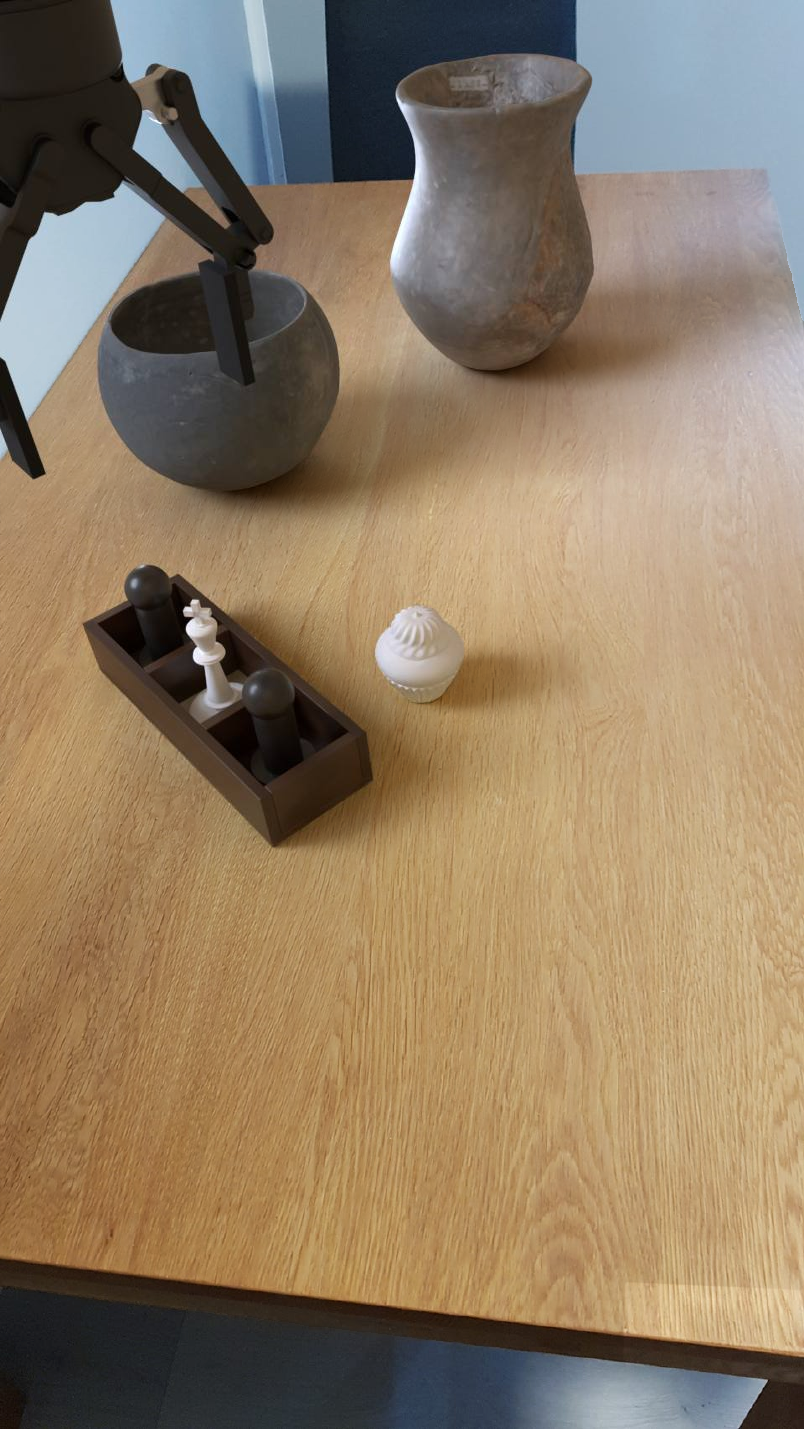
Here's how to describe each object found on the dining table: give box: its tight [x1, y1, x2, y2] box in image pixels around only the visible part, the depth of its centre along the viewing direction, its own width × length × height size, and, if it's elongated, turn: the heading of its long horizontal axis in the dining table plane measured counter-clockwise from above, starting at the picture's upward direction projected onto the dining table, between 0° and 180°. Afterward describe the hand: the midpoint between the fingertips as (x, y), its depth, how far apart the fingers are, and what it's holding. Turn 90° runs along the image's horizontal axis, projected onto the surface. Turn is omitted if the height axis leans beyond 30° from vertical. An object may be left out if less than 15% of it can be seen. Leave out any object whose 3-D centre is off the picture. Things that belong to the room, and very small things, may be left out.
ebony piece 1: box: [123, 564, 193, 668], centre depth 76 cm, size 4×4×9 cm
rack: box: [82, 573, 374, 848], centre depth 74 cm, size 8×23×5 cm, turn 40°
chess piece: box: [183, 600, 244, 724], centre depth 71 cm, size 5×5×10 cm
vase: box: [389, 53, 595, 371], centre depth 101 cm, size 20×19×25 cm
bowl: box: [97, 268, 341, 492], centre depth 93 cm, size 20×20×15 cm
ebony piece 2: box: [242, 668, 317, 786], centre depth 67 cm, size 4×4×9 cm
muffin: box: [374, 604, 465, 704], centre depth 74 cm, size 6×6×7 cm
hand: (138, 420), depth 61 cm, fingers open, 13 cm apart
